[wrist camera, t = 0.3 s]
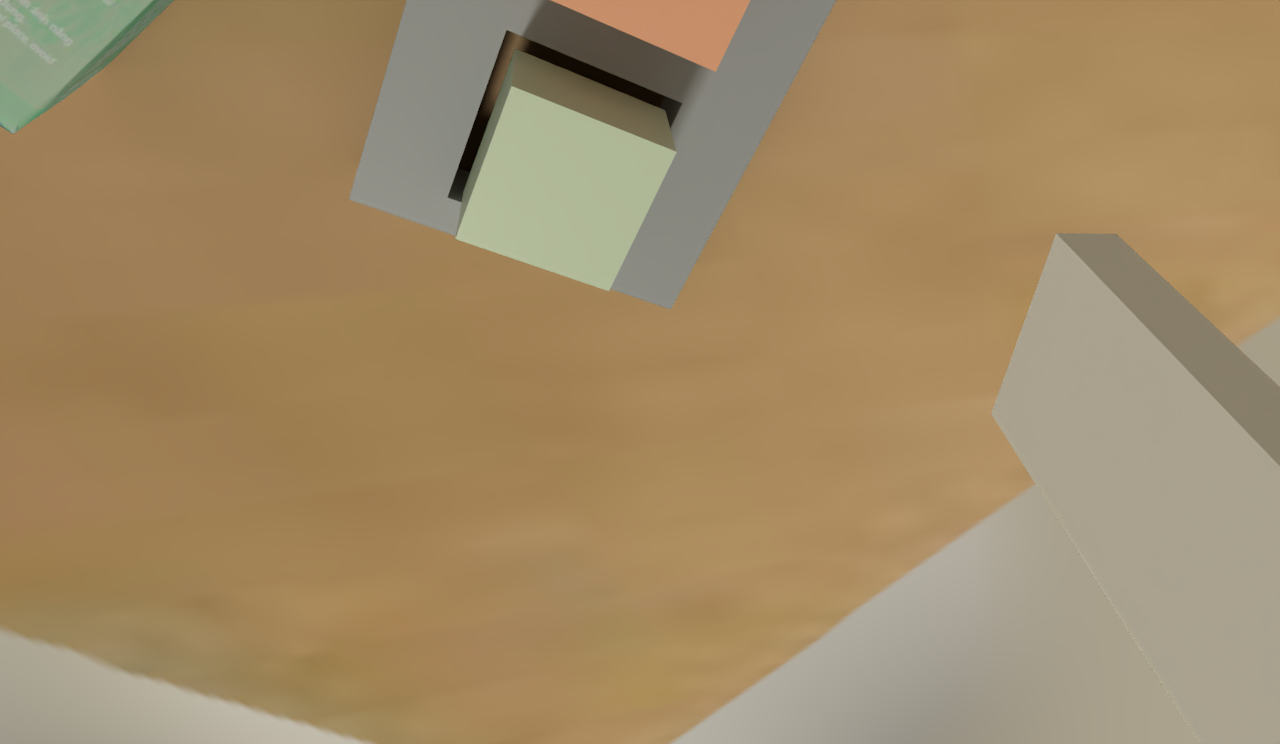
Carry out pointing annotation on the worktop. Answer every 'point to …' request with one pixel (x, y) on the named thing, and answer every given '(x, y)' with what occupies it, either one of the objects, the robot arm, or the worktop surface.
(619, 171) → the sage button
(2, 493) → the worktop surface
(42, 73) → the box
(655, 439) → the worktop surface
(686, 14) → the terracotta button
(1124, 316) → the robot arm
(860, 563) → the worktop surface
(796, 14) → the button board
